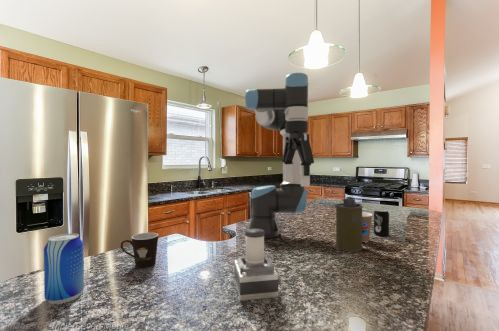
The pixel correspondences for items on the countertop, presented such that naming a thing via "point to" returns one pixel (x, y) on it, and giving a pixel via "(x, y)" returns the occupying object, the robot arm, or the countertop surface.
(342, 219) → the canister
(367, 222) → the coffee cup
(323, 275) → the countertop surface
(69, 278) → the beer can
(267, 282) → the grey square holder base
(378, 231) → the beverage can
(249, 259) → the beige and black cylinder
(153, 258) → the coffee mug
